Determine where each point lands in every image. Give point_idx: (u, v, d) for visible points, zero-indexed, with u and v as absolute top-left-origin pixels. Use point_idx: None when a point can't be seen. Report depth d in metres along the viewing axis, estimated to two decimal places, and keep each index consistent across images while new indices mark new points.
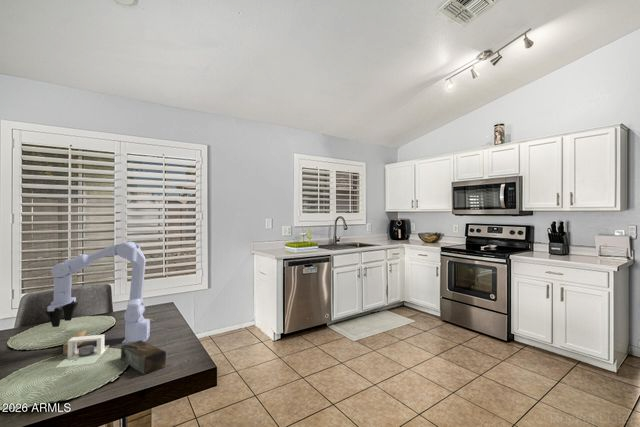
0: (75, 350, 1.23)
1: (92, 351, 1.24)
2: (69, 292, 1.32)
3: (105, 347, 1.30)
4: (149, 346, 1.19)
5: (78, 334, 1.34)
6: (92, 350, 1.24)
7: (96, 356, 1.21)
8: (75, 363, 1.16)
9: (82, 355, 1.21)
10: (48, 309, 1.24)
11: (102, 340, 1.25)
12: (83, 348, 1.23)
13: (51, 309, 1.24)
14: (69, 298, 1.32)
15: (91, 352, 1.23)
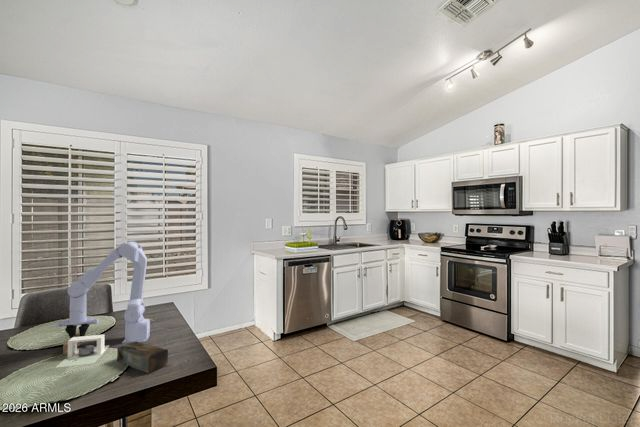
0: (75, 350, 1.23)
1: (92, 351, 1.24)
2: (74, 313, 1.30)
3: (105, 347, 1.30)
4: (148, 346, 1.19)
5: (78, 334, 1.34)
6: (92, 350, 1.24)
7: (96, 356, 1.21)
8: (75, 363, 1.16)
9: (82, 355, 1.21)
10: None
11: (102, 340, 1.25)
12: (83, 348, 1.23)
13: None
14: (74, 319, 1.30)
15: (91, 352, 1.23)
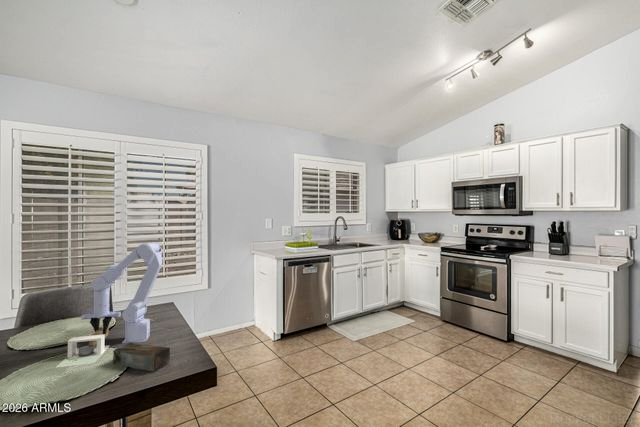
0: (75, 350, 1.23)
1: (92, 351, 1.24)
2: (98, 306, 1.36)
3: (105, 347, 1.30)
4: (146, 346, 1.19)
5: (101, 328, 1.39)
6: (92, 350, 1.24)
7: (96, 356, 1.21)
8: (75, 363, 1.16)
9: (82, 355, 1.21)
10: None
11: (102, 340, 1.25)
12: (83, 348, 1.23)
13: None
14: (98, 312, 1.36)
15: (91, 352, 1.23)
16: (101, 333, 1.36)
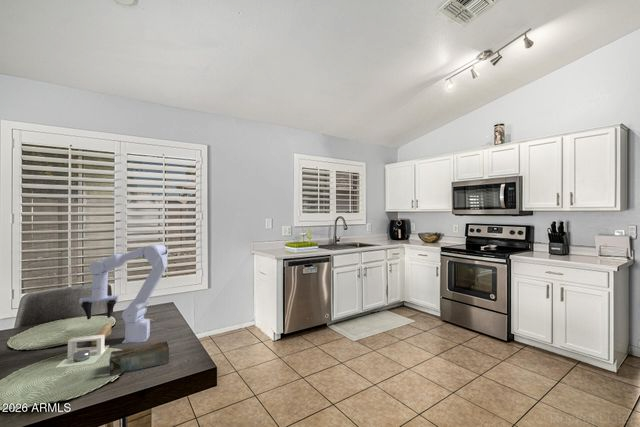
0: (75, 350, 1.23)
1: (87, 356, 1.19)
2: (96, 290, 1.36)
3: (105, 347, 1.30)
4: (140, 347, 1.18)
5: (104, 327, 1.42)
6: (87, 355, 1.19)
7: (96, 356, 1.21)
8: (75, 363, 1.16)
9: (77, 361, 1.17)
10: None
11: (102, 340, 1.25)
12: (78, 353, 1.19)
13: None
14: (96, 296, 1.36)
15: (86, 357, 1.18)
16: (104, 332, 1.39)
